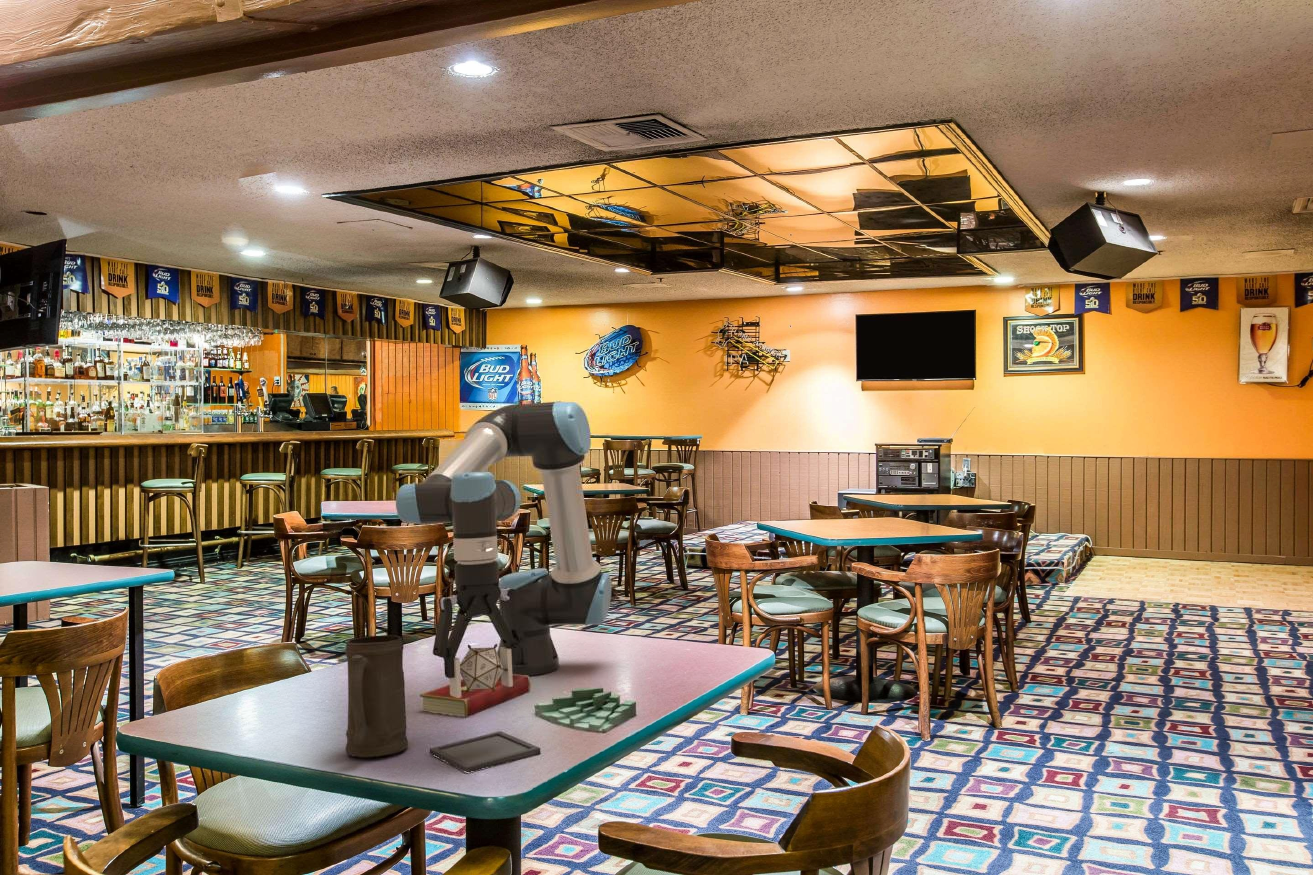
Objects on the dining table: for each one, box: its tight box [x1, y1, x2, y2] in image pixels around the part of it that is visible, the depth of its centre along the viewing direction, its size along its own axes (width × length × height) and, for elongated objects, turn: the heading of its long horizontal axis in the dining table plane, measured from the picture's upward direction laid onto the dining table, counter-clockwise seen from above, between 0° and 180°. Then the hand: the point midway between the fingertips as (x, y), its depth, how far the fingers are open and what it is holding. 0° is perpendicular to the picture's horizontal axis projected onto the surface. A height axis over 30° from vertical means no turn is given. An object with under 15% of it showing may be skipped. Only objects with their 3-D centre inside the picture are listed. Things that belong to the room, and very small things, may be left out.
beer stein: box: [344, 634, 409, 758], centre depth 175 cm, size 15×11×20 cm
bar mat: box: [429, 730, 541, 773], centre depth 173 cm, size 14×14×1 cm
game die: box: [460, 643, 508, 694], centre depth 173 cm, size 9×8×10 cm
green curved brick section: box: [534, 686, 637, 734], centre depth 194 cm, size 20×16×5 cm
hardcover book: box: [419, 674, 531, 719], centre depth 208 cm, size 12×21×4 cm, turn 151°
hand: (481, 690), depth 173 cm, fingers closed on game die, 9 cm apart
